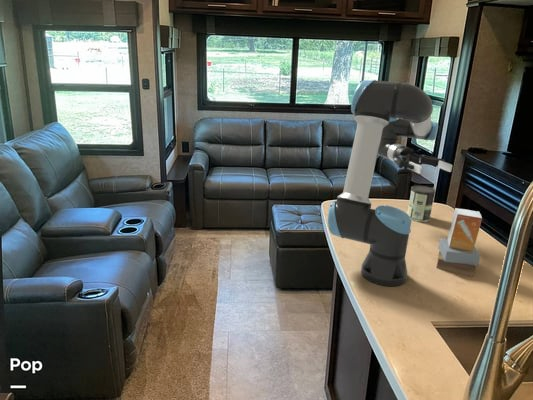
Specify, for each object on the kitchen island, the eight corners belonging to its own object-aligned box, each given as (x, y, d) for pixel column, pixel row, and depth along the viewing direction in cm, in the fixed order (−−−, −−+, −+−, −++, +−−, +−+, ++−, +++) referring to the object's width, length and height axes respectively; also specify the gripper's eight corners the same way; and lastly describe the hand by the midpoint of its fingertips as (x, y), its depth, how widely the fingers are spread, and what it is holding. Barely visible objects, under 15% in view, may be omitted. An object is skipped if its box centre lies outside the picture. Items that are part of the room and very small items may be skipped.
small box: (448, 247, 148) (457, 213, 144) (447, 240, 154) (455, 207, 149) (473, 252, 146) (482, 217, 142) (470, 244, 152) (479, 211, 147)
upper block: (477, 265, 146) (480, 255, 144) (444, 261, 147) (446, 251, 146) (469, 251, 156) (471, 241, 154) (438, 247, 157) (440, 238, 156)
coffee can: (425, 214, 199) (430, 185, 195) (432, 222, 190) (438, 193, 185) (403, 212, 199) (408, 184, 195) (410, 221, 190) (415, 191, 185)
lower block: (472, 277, 146) (475, 267, 144) (436, 269, 150) (438, 259, 149) (472, 263, 156) (475, 253, 155) (438, 255, 160) (440, 245, 159)
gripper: (424, 162, 178) (461, 177, 159) (373, 164, 170) (405, 180, 151) (427, 145, 175) (465, 158, 156) (376, 146, 167) (409, 160, 149)
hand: (436, 169), depth 154 cm, fingers open, 13 cm apart
